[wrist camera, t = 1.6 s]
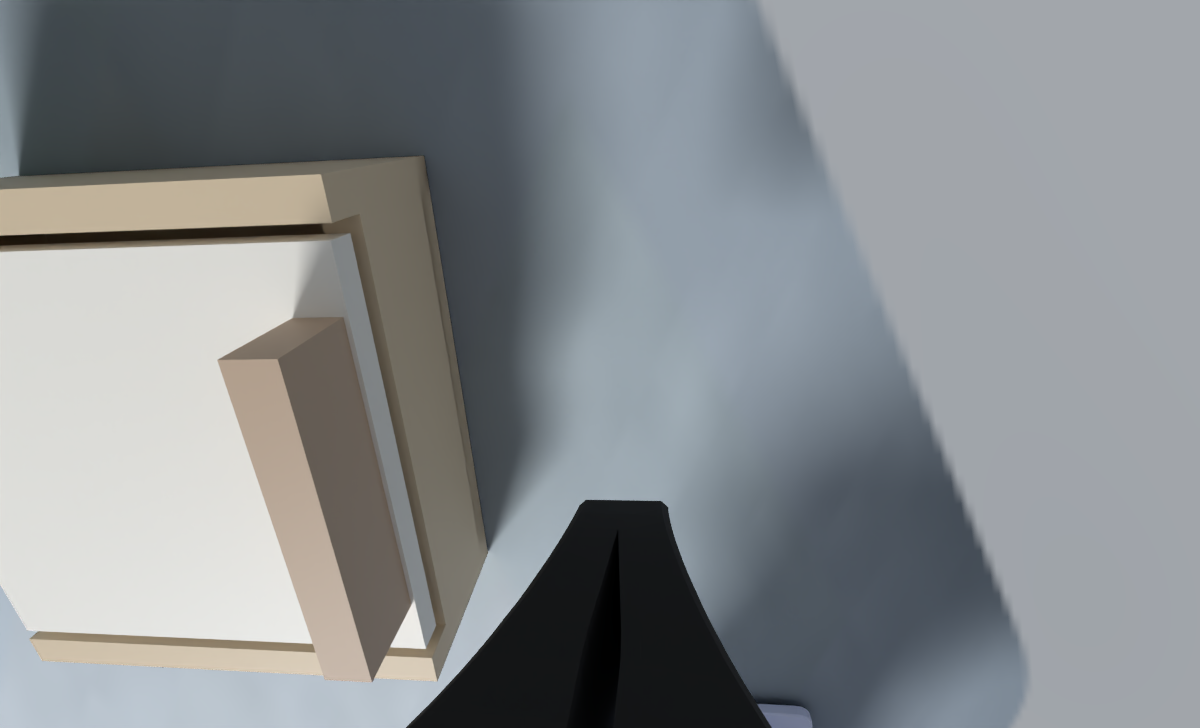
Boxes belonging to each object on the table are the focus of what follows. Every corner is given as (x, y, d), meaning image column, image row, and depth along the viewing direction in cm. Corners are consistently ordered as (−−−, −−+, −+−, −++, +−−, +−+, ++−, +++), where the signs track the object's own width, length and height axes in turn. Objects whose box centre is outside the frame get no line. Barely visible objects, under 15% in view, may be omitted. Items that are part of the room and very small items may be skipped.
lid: (436, 625, 15) (390, 729, 12) (53, 609, 16) (-60, 702, 13) (350, 232, 11) (257, 269, 8) (-148, 250, 12) (-358, 286, 9)
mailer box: (488, 552, 19) (437, 681, 14) (173, 544, 20) (41, 661, 16) (423, 155, 14) (320, 174, 10) (16, 176, 15) (-232, 200, 11)
